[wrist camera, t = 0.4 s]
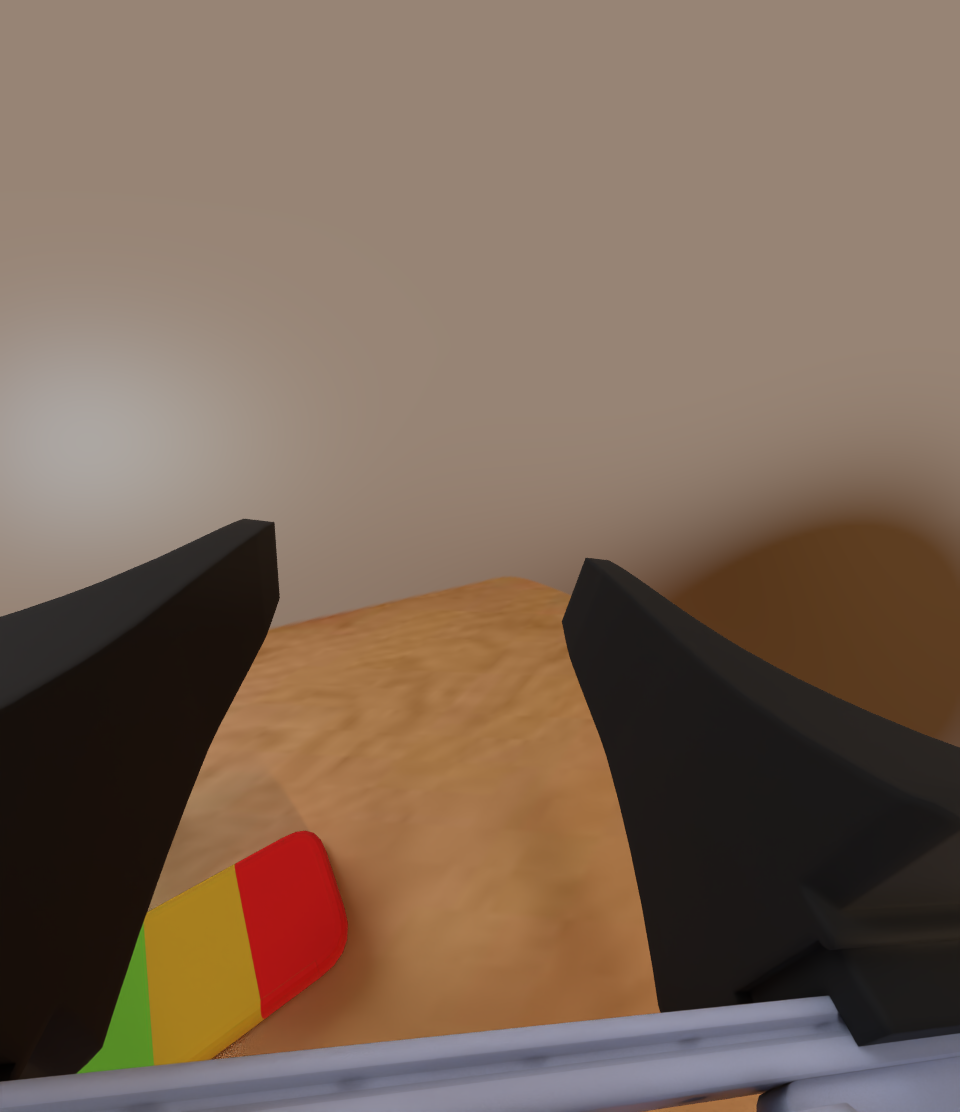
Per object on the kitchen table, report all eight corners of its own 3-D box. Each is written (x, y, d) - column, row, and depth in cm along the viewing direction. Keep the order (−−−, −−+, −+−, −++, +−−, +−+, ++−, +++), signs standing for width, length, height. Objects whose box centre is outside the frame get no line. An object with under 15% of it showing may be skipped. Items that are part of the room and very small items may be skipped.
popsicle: (357, 952, 18) (357, 945, 17) (-216, 1383, 11) (-288, 1424, 9) (317, 828, 22) (315, 815, 20) (-147, 1091, 14) (-194, 1094, 13)
